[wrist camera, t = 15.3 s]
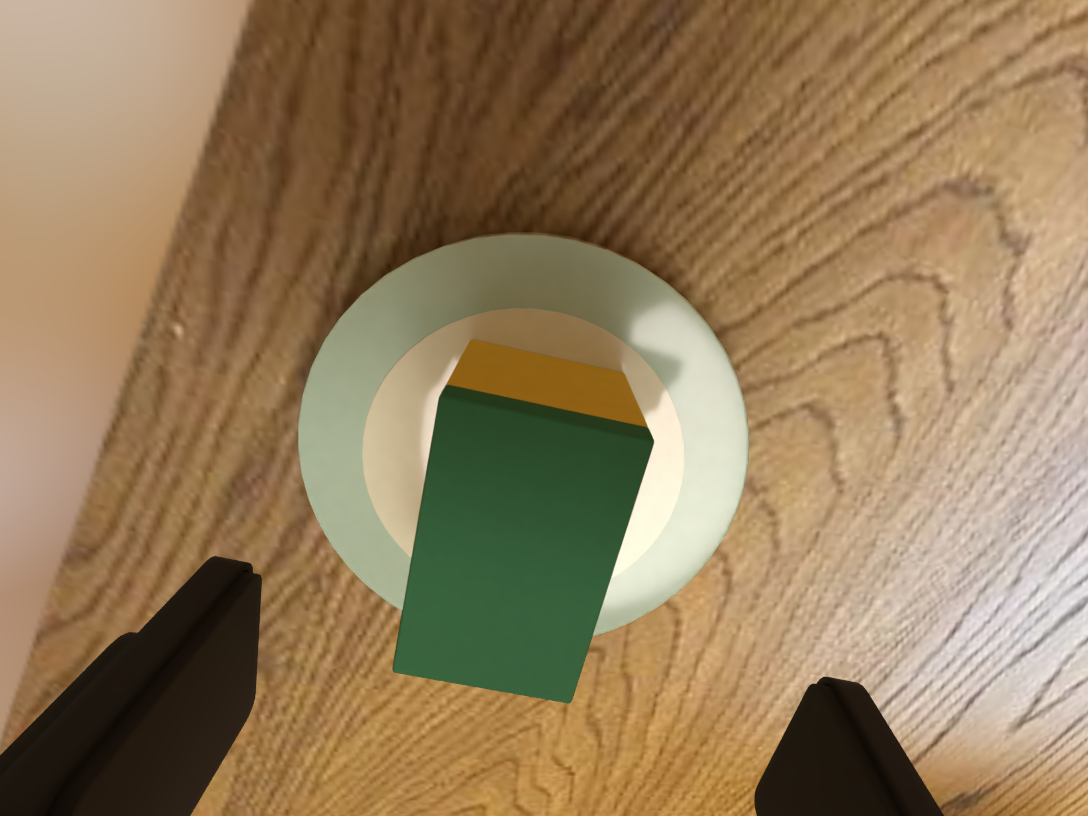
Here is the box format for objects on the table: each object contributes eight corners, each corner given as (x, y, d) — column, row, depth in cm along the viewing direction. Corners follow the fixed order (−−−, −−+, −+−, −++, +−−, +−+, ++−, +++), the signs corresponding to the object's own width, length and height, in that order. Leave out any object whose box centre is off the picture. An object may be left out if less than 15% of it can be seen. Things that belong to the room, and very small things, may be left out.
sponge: (470, 338, 16) (438, 394, 12) (625, 372, 17) (656, 440, 12) (430, 555, 19) (391, 673, 14) (565, 581, 19) (571, 705, 14)
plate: (333, 180, 16) (316, 179, 15) (803, 291, 17) (821, 297, 16) (297, 584, 21) (282, 607, 20) (666, 652, 22) (672, 677, 21)
